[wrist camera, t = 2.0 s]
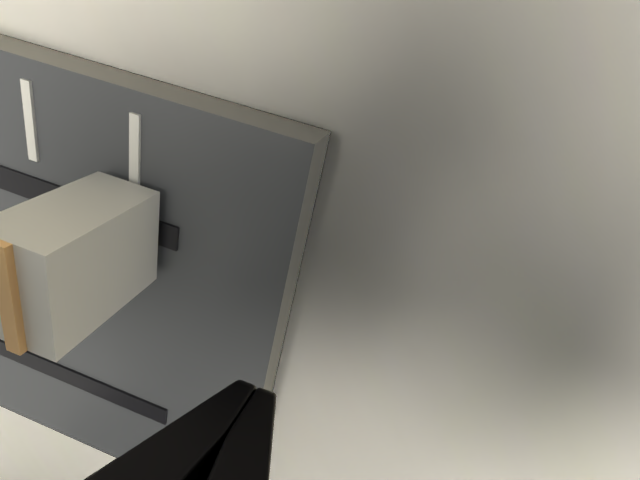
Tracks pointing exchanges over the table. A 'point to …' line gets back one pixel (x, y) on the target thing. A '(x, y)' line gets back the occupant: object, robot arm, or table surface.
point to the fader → (74, 261)
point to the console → (159, 239)
